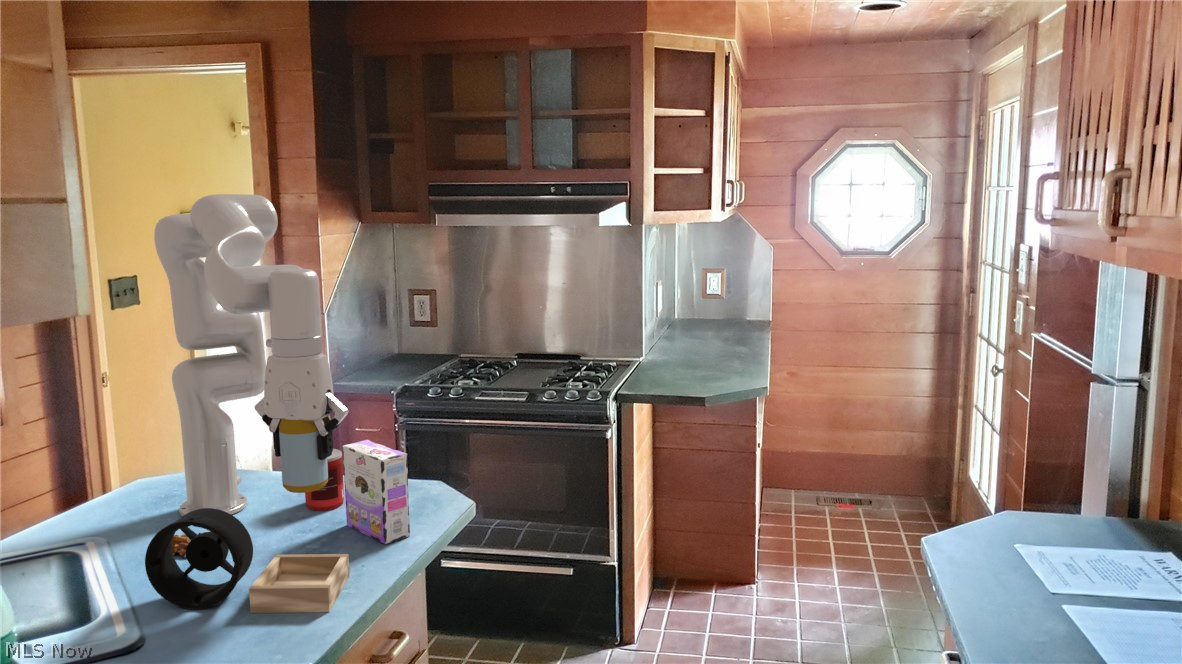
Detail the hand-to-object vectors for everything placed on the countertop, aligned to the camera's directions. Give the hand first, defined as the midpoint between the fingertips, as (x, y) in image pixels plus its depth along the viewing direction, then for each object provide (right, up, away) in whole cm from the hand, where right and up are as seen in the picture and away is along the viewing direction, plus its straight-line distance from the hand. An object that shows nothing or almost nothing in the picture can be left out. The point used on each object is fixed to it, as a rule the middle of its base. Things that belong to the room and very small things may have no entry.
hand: (303, 455), depth 131 cm
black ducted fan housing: (-15, -23, 0) cm, 27 cm away
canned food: (-9, -16, +38) cm, 42 cm away
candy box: (+5, -19, +25) cm, 32 cm away
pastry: (-29, -20, +17) cm, 39 cm away
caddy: (0, -22, 0) cm, 22 cm away
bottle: (0, -5, +1) cm, 6 cm away
